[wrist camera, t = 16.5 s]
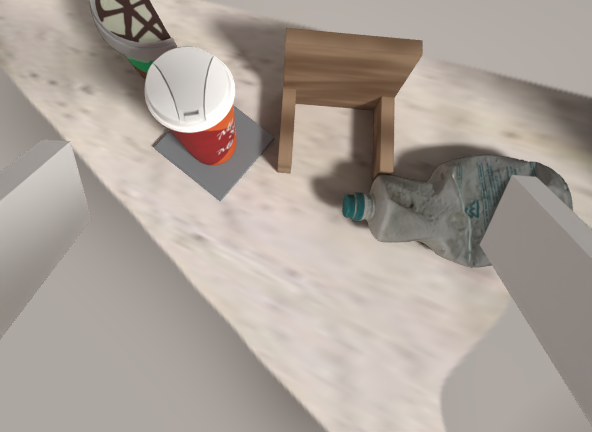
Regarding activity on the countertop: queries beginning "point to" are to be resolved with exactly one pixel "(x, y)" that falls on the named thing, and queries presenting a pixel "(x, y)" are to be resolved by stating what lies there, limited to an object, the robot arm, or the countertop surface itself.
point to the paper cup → (194, 102)
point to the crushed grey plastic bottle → (447, 204)
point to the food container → (132, 30)
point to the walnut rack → (346, 83)
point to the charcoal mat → (226, 174)
